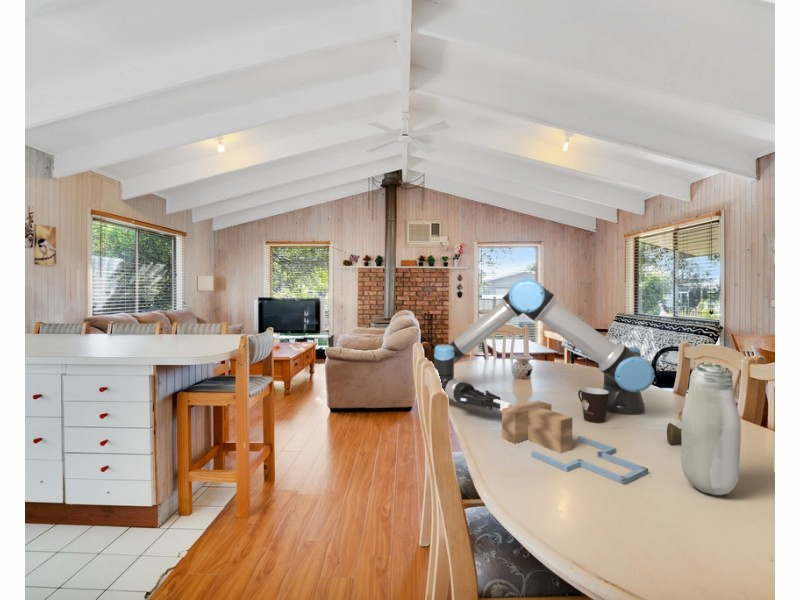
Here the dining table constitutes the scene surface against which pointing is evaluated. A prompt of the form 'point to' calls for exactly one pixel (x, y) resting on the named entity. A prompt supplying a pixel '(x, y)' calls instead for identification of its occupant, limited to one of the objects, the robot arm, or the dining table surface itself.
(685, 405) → the glass bottle
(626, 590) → the dining table surface
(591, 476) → the dining table surface
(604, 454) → the t outline
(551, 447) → the t block
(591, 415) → the coffee mug
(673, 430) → the kendama
